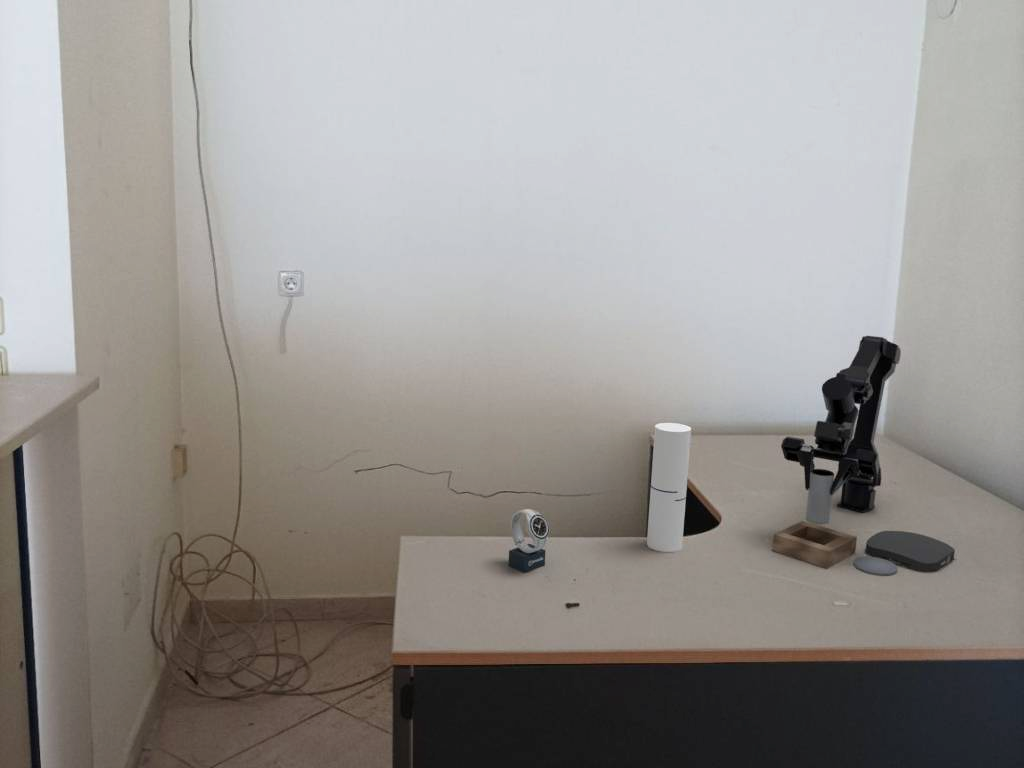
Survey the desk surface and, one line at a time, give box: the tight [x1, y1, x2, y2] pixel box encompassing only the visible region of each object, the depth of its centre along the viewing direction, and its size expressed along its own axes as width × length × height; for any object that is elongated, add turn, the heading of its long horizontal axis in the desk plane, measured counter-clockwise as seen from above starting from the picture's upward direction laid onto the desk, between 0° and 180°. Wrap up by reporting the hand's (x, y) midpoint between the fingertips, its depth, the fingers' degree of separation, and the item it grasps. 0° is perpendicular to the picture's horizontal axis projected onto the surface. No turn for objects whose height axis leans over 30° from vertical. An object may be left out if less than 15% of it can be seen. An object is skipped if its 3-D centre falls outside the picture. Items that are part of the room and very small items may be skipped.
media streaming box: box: [865, 530, 956, 573], centre depth 189 cm, size 15×15×3 cm
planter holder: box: [771, 520, 858, 569], centre depth 188 cm, size 12×12×4 cm
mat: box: [853, 555, 898, 577], centre depth 182 cm, size 8×8×1 cm
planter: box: [805, 468, 835, 525], centre depth 186 cm, size 4×4×10 cm
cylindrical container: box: [646, 422, 692, 553], centre depth 187 cm, size 7×7×25 cm
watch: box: [508, 508, 550, 574], centre depth 176 cm, size 6×8×11 cm
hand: (818, 491), depth 185 cm, fingers closed on planter, 4 cm apart
